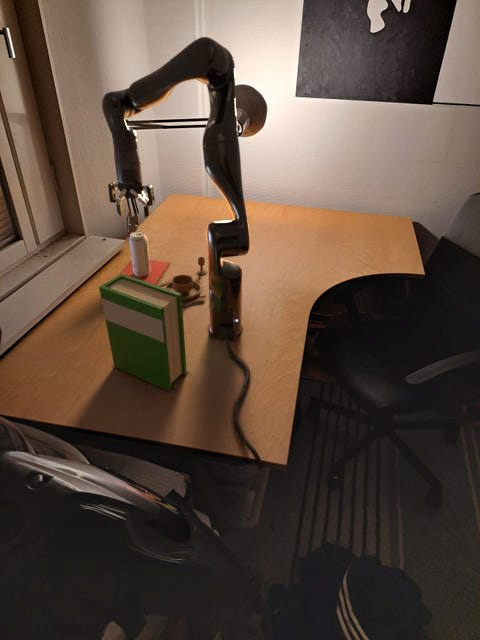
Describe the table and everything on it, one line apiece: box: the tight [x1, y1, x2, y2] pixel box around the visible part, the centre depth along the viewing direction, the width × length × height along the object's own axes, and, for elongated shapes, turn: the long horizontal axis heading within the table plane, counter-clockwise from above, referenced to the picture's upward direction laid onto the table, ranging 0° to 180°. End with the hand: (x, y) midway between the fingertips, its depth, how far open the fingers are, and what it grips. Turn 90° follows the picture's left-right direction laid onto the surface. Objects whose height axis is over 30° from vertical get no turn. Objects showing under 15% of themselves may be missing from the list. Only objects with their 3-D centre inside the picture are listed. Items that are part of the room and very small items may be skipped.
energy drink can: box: [128, 231, 151, 277], centre depth 145 cm, size 6×6×15 cm
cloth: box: [121, 260, 170, 285], centre depth 150 cm, size 20×14×1 cm
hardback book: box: [98, 273, 187, 392], centre depth 102 cm, size 18×7×24 cm, turn 61°
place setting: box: [159, 256, 207, 307], centre depth 141 cm, size 18×20×6 cm
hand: (134, 216), depth 137 cm, fingers open, 8 cm apart
